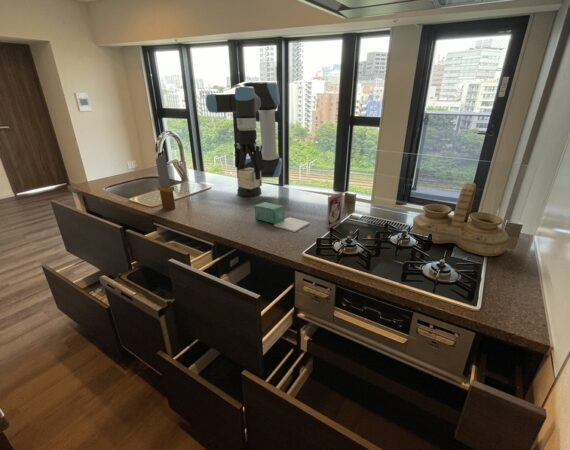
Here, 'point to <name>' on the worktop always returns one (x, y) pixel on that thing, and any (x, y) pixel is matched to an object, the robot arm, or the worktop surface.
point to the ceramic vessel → (463, 226)
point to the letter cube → (247, 178)
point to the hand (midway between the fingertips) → (250, 185)
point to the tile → (292, 224)
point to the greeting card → (334, 209)
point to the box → (269, 212)
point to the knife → (165, 183)
